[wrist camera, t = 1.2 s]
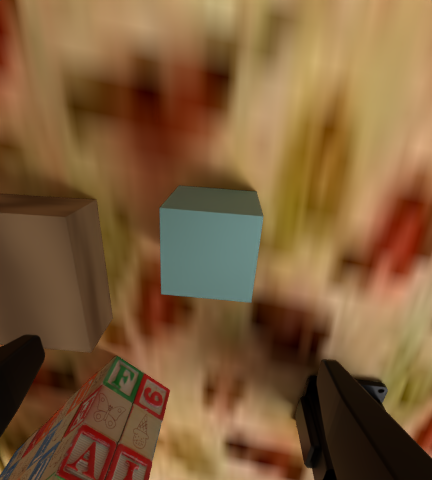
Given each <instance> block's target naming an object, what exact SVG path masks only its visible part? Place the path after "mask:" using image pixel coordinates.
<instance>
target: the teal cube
mask: <svg viewBox="0 0 432 480" xmlns="http://www.w3.org/2000/svg"><path fill="white" fill-rule="evenodd" d="M262 223H263V213H262V210H261V206H260V202H259V199H258V195H257V192H255V191H243V190H230V189H218V188H205V187H192V186H180V185H179V186H178V187H177V188H176V190H175V191H174V192H173V193H172V194H171V195H170V196H169V198H168V199H167V200H166V201H165V202H164V203H163V204H162V206H161V207H160V256H161V294H165V295H176V296H186V297H197V298H208V299H218V300H229V301H239V302H250V303H251V301H252V294H253V287H254V279H255V272H256V265H257V258H258V251H259V244H260V237H261V230H262Z"/></svg>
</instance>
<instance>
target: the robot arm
mask: <svg viewBox="0 0 432 480" xmlns="http://www.w3.org/2000/svg"><path fill="white" fill-rule="evenodd" d="M44 358H45V352H44V348H43V345H42V341H41V338H40V337H39V336H38V335H31V334H25V335H23V336H21V337H19V338H17V339H15V340H13V341H11V342H9V343H7V344H5V345H4V346H2V347H0V437H1V435H2V434H3V432H4V431H5V429H6V428H7V426H8V424H9V423H10V421H11V420H12V418H13V417H14V415H15V413H16V412H17V410H18V408H19V407H20V405H21V403H22V401H23V399H24V397H25V396H26V394H27V392H28V390H29V388H30V386H31V384H32V382H33V380H34V379H35V377H36V375H37V373H38V371H39V369H40V367H41V365H42V363H43V361H44ZM387 391H388V390H387V388H386V386H385V384H383V383H380V382H370V381H360V380H355V379H354V378H353V377H352V376H351V375H350V374H349V373H348V372H347V371H346V370H345V369H344V368H343V367H342V365H341V364H340V363H339V362H337V361H336V360H327V359H324V360H322V361H321V364H320V368H319V372H318V376H310V377H309V378H308V379H307V383H306V386H305V390H304V394H303V396H301V397H300V399H299V403H298V407H297V410H296V414H295V418H296V425H297V429H298V434H299V439H300V444H301V449H302V454H303V460H304V464H305V465H306V467H307V468H312V471H313V475H314V480H432V458H431V457H430V456H429V455H428V454H427V453H426V452H425V451H424V450H423V449H422V448H421V447H420V446H419V445H418V444H417V443H416V442H415V441H414V440H413V439H412V438H411V436H410V435H409V434H408V433H407V432H406V431H405V430H404V429H403V428H402V427H401V426H400V425H399V424H398V423H397V422H396V421H395V420H394V419H393V418H392V417H391V416H390V415H389V414H388V413H387V412H386V410H385V408H384V406H383V404H382V402H383V400H384V398H385V396H386V394H387Z"/></svg>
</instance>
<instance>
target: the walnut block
mask: <svg viewBox="0 0 432 480" xmlns="http://www.w3.org/2000/svg"><path fill="white" fill-rule="evenodd" d="M112 319H113V315H112V308H111V301H110V294H109V286H108V279H107V272H106V265H105V257H104V250H103V243H102V236H101V228H100V221H99V214H98V207H97V200H94V199H78V198H61V197H45V196H29V195H12V194H0V344H1V345H5V344H7V343H9V342H11V341H13V340H15V339H17V338H19V337H21V336H23V335H25V334H31V335H38V336H39V337H40V338H41V341H42V345H43V348H45V349H56V350H67V351H78V352H90V353H91V352H92V350H93V349H94V347H95V346H96V344H97V342H98V341H99V339H100V338H101V336H102V334H103V333H104V331H105V330H106V328H107V327H108V325H109V323H110V322H111V320H112Z"/></svg>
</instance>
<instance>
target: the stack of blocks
mask: <svg viewBox="0 0 432 480" xmlns="http://www.w3.org/2000/svg"><path fill="white" fill-rule="evenodd" d="M169 393H170V390H169V389H167V388H166V387H164V386H163V385H161V384H160V383H158V382H157V381H155V380H154V379H152V378H151V377H149V376H148V375H146V374H144V373H142V372H141V371H139V370H138V369H136V368H135V367H133V366H132V365H130V364H129V363H127V362H126V361H124V360H123V359H121V358H120V357H118V356H115V357H114V358H113V359H112V360H111V361H110V362H109V363H108V364H107V365H106V366H105V367H104V368H102V369H101V370H100V371H99V372H97V373H96V374H95V375H94V376H93V377H92V378H91V379H90V380H89V381H88V382H86V383H85V384H84V385H83V386H82V387H81V388H80V389H79V390H78V391H77V392H76V393H75V394H74V395H73V396H72V397H71V398H70V399H68V400H67V401H66V403H65V405H64V406H63V407H62V408H61V409H60V410H59V411H58V412H57V413H55V414H54V415H53V417H52V418H51V419H50V420H49V421H48V422H47V423H46V424H45V425H44V426H43V427H42V428H41V429H38V430H37V431H36V432H35V433H34V434H33V435H32V436H31V437H30V438H29V439H28V440H27V441H26V442H25V443H24V444H23V445H22V446H21V447H20V448H19V449H18V450H17V451H16V452H15V453H14V455H13V456H12V458H11V459H10V461H9V463H8V464H7V466H6V467H5V468H4V470H3V472H2V473H1V475H0V480H149V476H150V471H151V468H152V460H153V457H154V452H155V448H156V443H157V439H158V435H159V432H160V427H161V422H162V421H163V417H164V413H165V409H166V404H167V401H168V397H169Z"/></svg>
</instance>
